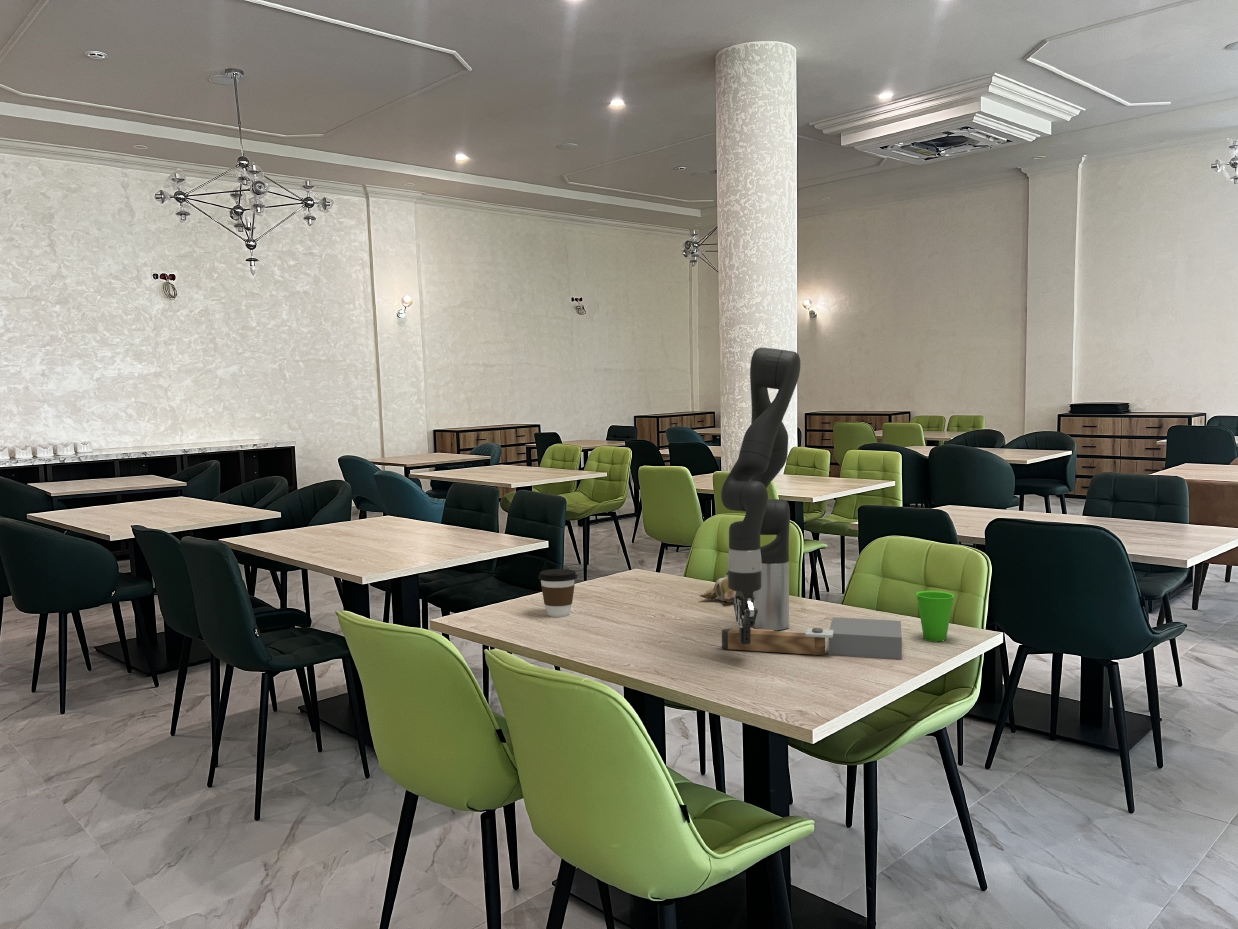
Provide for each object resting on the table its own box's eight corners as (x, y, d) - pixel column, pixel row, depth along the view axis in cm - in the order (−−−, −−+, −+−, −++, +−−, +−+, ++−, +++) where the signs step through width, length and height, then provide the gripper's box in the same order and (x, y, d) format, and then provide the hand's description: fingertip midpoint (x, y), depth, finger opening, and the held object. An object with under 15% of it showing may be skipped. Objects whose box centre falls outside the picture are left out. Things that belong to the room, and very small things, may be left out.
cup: (952, 635, 218) (953, 591, 218) (956, 645, 210) (956, 599, 209) (914, 633, 221) (914, 590, 220) (916, 642, 212) (916, 597, 211)
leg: (825, 651, 205) (825, 634, 205) (824, 655, 201) (824, 638, 201) (723, 644, 212) (723, 628, 211) (720, 648, 208) (720, 631, 208)
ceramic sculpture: (756, 569, 262) (725, 580, 252) (758, 598, 263) (727, 610, 252) (728, 566, 270) (697, 576, 259) (729, 594, 270) (698, 605, 260)
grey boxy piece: (755, 632, 224) (755, 610, 223) (900, 641, 214) (900, 617, 213) (744, 652, 206) (744, 627, 206) (901, 662, 196) (901, 636, 196)
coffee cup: (573, 619, 240) (572, 576, 240) (534, 618, 242) (533, 575, 241) (581, 610, 251) (580, 568, 250) (544, 609, 253) (543, 568, 252)
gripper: (769, 573, 193) (769, 650, 195) (752, 562, 206) (752, 635, 208) (736, 574, 192) (736, 652, 194) (721, 563, 205) (721, 636, 207)
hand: (744, 643), depth 201 cm, fingers closed
